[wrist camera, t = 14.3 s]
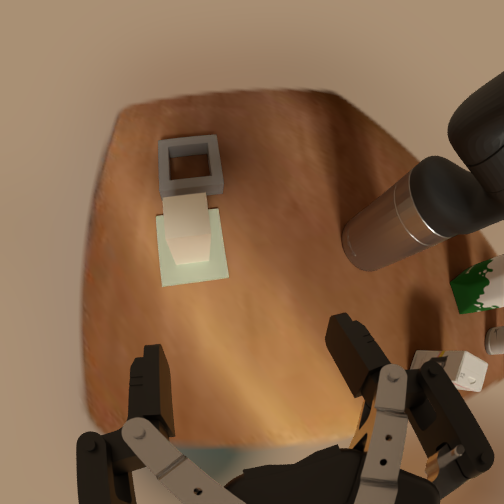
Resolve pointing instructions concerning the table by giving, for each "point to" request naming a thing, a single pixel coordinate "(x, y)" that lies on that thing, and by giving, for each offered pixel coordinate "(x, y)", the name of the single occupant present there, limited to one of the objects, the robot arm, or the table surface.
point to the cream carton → (187, 227)
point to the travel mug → (495, 340)
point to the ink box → (456, 367)
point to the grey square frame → (187, 148)
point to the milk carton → (480, 286)
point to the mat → (197, 270)
